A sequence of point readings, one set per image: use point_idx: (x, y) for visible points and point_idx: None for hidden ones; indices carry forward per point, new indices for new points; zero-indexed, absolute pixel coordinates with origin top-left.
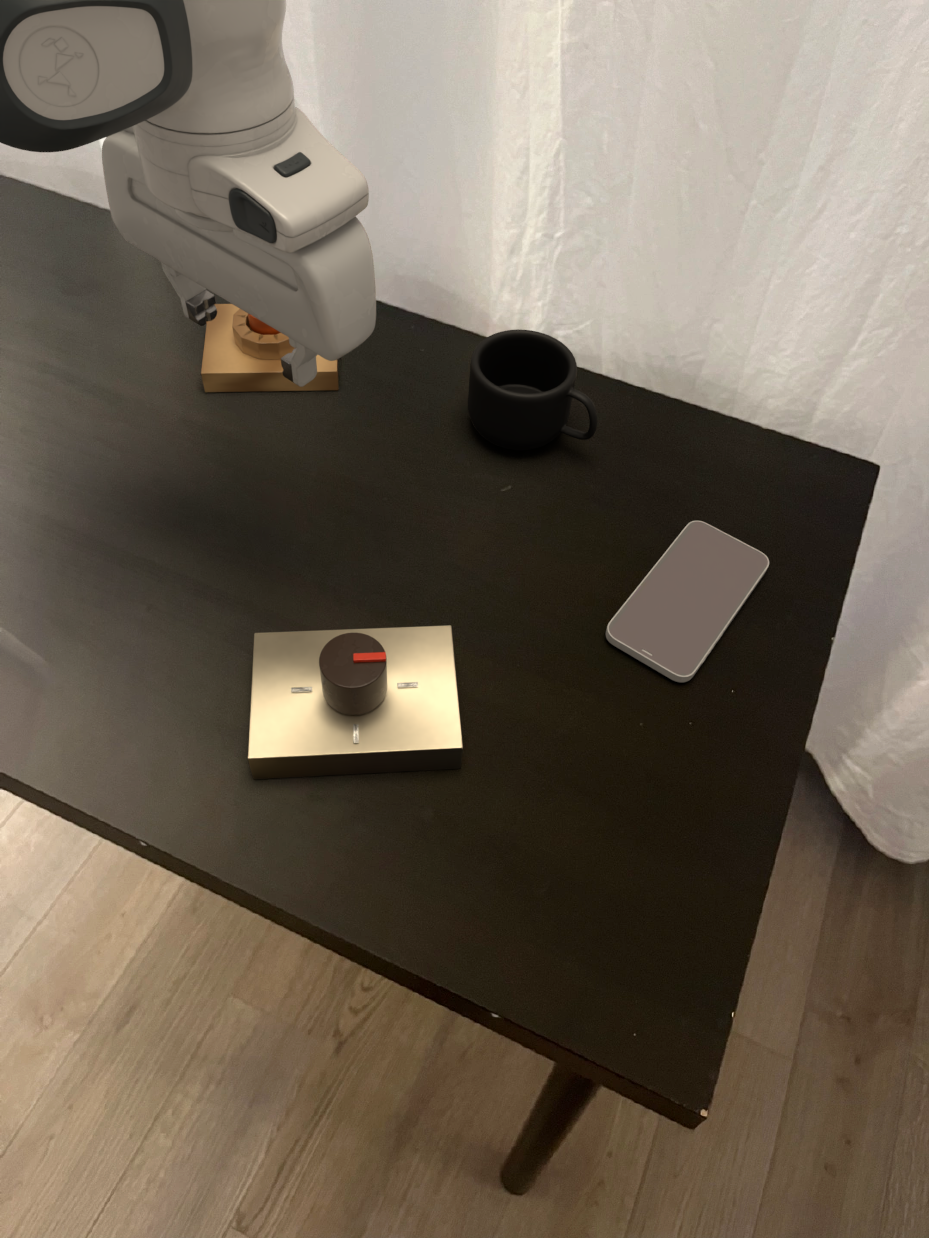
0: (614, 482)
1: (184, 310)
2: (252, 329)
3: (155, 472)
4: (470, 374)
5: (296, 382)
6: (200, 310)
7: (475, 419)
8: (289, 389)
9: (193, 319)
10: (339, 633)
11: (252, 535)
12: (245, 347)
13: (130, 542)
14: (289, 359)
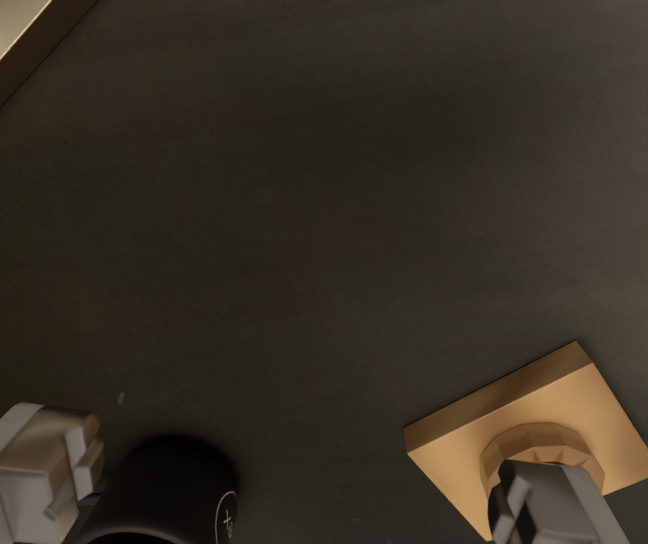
0: None
1: (591, 493)
2: (559, 464)
3: (552, 170)
4: (201, 530)
5: (15, 411)
6: (523, 520)
7: (192, 467)
8: (462, 400)
9: (539, 472)
10: (10, 30)
11: (331, 153)
12: (552, 432)
13: (498, 15)
14: (15, 485)
